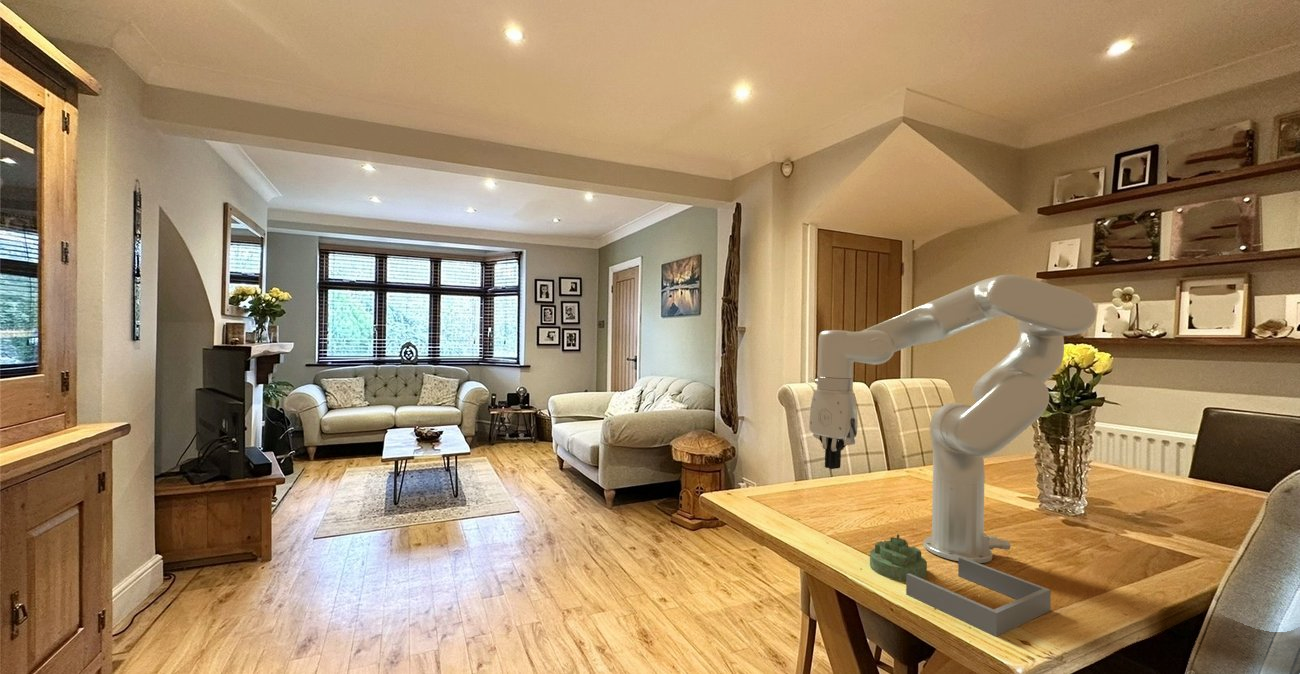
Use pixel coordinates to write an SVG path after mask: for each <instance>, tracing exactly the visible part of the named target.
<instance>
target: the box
mask: <svg viewBox="0 0 1300 674" xmlns="http://www.w3.org/2000/svg"><path fill="white" fill-rule="evenodd" d="M957 573H958V575H957V576H958V577H960V578H963V579H964V580H967V581H970V582H971V583H972V582H973V583H974V584H977V585H979V586H982V587H985V588H987V589H990V590H992V591H995V592H997V593H1000V594H1002V595H1005V596H1007V597H1010V598H1012V599H1015V600H1014V601H1010V602H1009V603H1006V604H1004V605H1002V606H999V607H996V608H994V609H993V608H991V607H989V606H986V605H984V604H982V603H981V602H977V601H975V600H973V599H970V598H968V597H965V596H963V595H961V594H958V593H956V592H954V591H952V590H949V589H947V588H945V587H942V586H940V585H938V584H935V583H933V582H931V581H928V580H926V579H922V578H919V577H917V576H915V575H912V574H910V573H908V574H907V575H906V581H905V583H906V589H905V592H906V593H905V594H906V595H907V596H910V597H912V598H913V599H916V600H918V601H920V602H923V603H924V604H926V605H929V606H930V607H933V608H935V609H938V610H939V611H941V612H944V613H945V614H948V615H949V616H952V617H954V618H956V619H958V620H960V621H963V622H965V623H967V624H969V625H970V626H973V627H975V628H977V629H979V630H982V631H983V632H985V633H987V634H990V635H992V636H994V637H998V636H1000V635H1003V634H1005V633H1007V632H1009V631H1011V630H1013V629H1015V628H1017V627H1020V626H1021V625H1024V624H1026V623H1028V622H1031V621H1033V620H1034V619H1036V618H1039V617H1041V616H1043V615H1044V614H1047V613H1049V612H1051V608H1052V607H1051V604H1052V603H1051V600H1052V599H1051V594H1052V590H1051V589H1049V588H1047V587H1044V586H1042V585H1038V584H1036V583H1033V582H1030V581H1028V580H1026V579H1023V578H1019V577H1018V576H1014V575H1011V574H1009V573H1007V572H1006V573H1005V572H1004V571H1001V570H997V569H995V568H993V567H989V566H987V565H984V564H983V563H976V562H974V561H971V560H968V559H965V558H963V557H959V561H958V572H957Z"/></svg>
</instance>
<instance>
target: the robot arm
mask: <svg viewBox="0 0 1300 674" xmlns="http://www.w3.org/2000/svg"><path fill="white" fill-rule="evenodd" d="M1096 309H1097V308H1096V306H1095V304H1094V303H1093V301H1091V299H1090V298H1089V297H1087V296H1086V295H1084V294H1083V293H1080V292H1078V291H1075V290H1072V289H1070V288H1069V289H1068V288H1064V287H1061V286H1057V285H1053V284H1051V283H1050V284H1049V283H1046V282H1043V281H1039V280H1037V279H1032V278H1028V277H1024V276H1021V275H1016V274H1002V275H997V276H993V277H989V278H986V279H982V280H980V281H977V282H975V283H972V284H970V285H968V286H964V287H963V288H960V289H957V290H955V291H953V292H950V293H948V294H946V295H943V296H941V297H938V298H936V299H934V300H931V301H928V302H926V303H923V304H922V305H919V306H917V307H915V308H912V309H910V310H908V311H906V312H904V313H901V314H900V315H897V316H895V317H892V318H890V319H887V320H884V321H882V322H880V323H877V324H875V325H872V326H870V327H868V328H864V329H863V330H860V331H849V330H844V329H843V330H840V329H839V330H838V329H831V330H829V329H827V330H826V329H825V330H823V331H820V333H819V335H818V340H817V341H818V342H817V344H818V345H817V346H818V347H817V374H816V375H817V377H816V379H815V380H814V382H815V385H817V386H816V389H815V390H813V393H812V399H811V403H810V411H809V425H808V428H809V432H810V433H812V436H813V437H814V438H815V439H817V440H819V441H820V443H821V444H822V448H823V450H824V468H826V469H830V470H836V469H840V468H841V465H842V464H841V460H842V451H844V450H845V449H844V448H846V447H847V446H853V445H856V440H855V438H856V437H857V434H858V424H859V423H858V407H857V400H856V394H855V393H854V392H853V391H854V390H853V389H854V388H853V387H854V363H855V362H856V363H862V364H869V365H875V366H876V365H883V364H884V363H887V362H888V361H889V360H890V359H892V358H893V356H894V353H896V352H898V351H901V350H904V349H907V348H910V347H913V346H917V345H921V344H922V345H923V344H928V343H935V342H937V341H941V340H945V339H948V338H950V337H952V336H954V335H957V334H960V333H963V332H964V331H967V330H970V329H972V328H974V327H977V326H980V325H983V324H984V323H988V322H989V321H992V320H995V319H997V318H1004V317H1005V318H1006V317H1008V318H1012V319H1015V320H1016V321H1017V324H1018V329H1019V330H1018V332H1019V336H1018V337H1019V338H1018V341H1017V344H1016V345H1015V346H1014V348H1012V350H1011V351H1009V353H1008V354H1007V355H1005V357H1004V358H1002V359H1001V360H1000V361H998V362H997V363H996V364H995V365H994V366H992V367H991V368H990V369H989V370H988V371H987V372H986V373H984V374H983V375H982V376H981V377H979V378H978V379H977V381H976V382H975V383H974V385H973V388H972V398H973V399H974V402H975V403H974V404H973V405H967V404H965V403H960V402H952V403H947V404H944V405H943V404H942V406H940V407H939V408H937V409H936V410H935V412H934V413H933V415H932V417H931V419H930V424H929V426H930V427H929V431H930V432H929V433H930V440H931V447H932V501H931V502H932V505H931V507H932V510H931V511H932V513H931V514H932V516H931V517H932V519H931V521H932V522H931V535H930V536H927V537H925V538H924V539H923V546H924V548H925V549H926V550H927V551H928V552H930V553H932V554H933V555H936V556H938V557H941V558H944V559H947V560H951V561H954V562H959V557H963V558H965V559H968V560H971V561H974V562H976V563H979V564H985V563H986V564H987V563H989V562H991V561H992V559H993V552H992V551H993V550H994V549H998V550H999V549H1000V550H1008V551H1010V549H1011V542H1010V540H1009V539H1000V538H998V537H997V536H995V535H994V536H993V535H988V534H987V533H985V529H984V528H985V526H984V525H985V482H986V480H985V479H986V478H985V476H986V475H985V473H986V471H985V461H984V457H989V456H992V455H994V454H996V453H998V452H1000V451H1001V450H1003V449H1004V448H1005V447H1007V445H1009V444H1011V442H1012V441H1014V440H1015V439H1016V438H1017V437H1019V435H1021V434H1022V433H1023V432H1025V431H1026V430H1027V429H1028V428H1029V427H1031V426H1032V425H1033V424H1034V423H1036V422H1037V420H1038V419H1040V417H1042V416H1043V414H1044V413H1045V411H1046V410H1047V408H1048V405H1049V402H1050V391H1049V389H1048V386H1047V385H1046V382H1047V381H1049V379H1050V378H1051V377H1053V376H1054V375H1055V373H1056V372H1057V371H1058V369H1059V368H1060V366H1061V365H1062V363H1063V360H1064V353H1065V339H1064V337H1065V336H1066V337H1069V336H1075V335H1079V334H1082V333H1084V332H1086V331H1087V330H1088V329H1090V328H1091V327H1092V326H1093V324H1094V323H1095V321H1096V318H1097V310H1096Z"/></svg>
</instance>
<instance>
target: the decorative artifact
mask: <svg viewBox="0 0 1300 674" xmlns="http://www.w3.org/2000/svg"><path fill="white" fill-rule="evenodd" d="M908 544H909V543H908V541H907V540H906V539H904V538H903V539H902V538H900V534H896V537H894V536H892V537H890V540H886V539H885V540H883V541H882V540H881V541H878V542H875V544H874V548H872V549H871V550H870V551H869V568H870V569H871V570H872V571H873V572H874V573H876V574H878V575H880V576H882V577H885V578H886V579H891V580H895V581H899V582H906V575H907V574H908V573H910V574H912V575H915V576H917V577H919V578H922V579H924V580H926V579H927V576H928V570H927V567H928V566H927V565H928V564H927V563H928V562H927V560H926V559H925V558H924V557H923V556H922V550H921V549H919V548H918V547H916V546H909V545H908Z"/></svg>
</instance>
